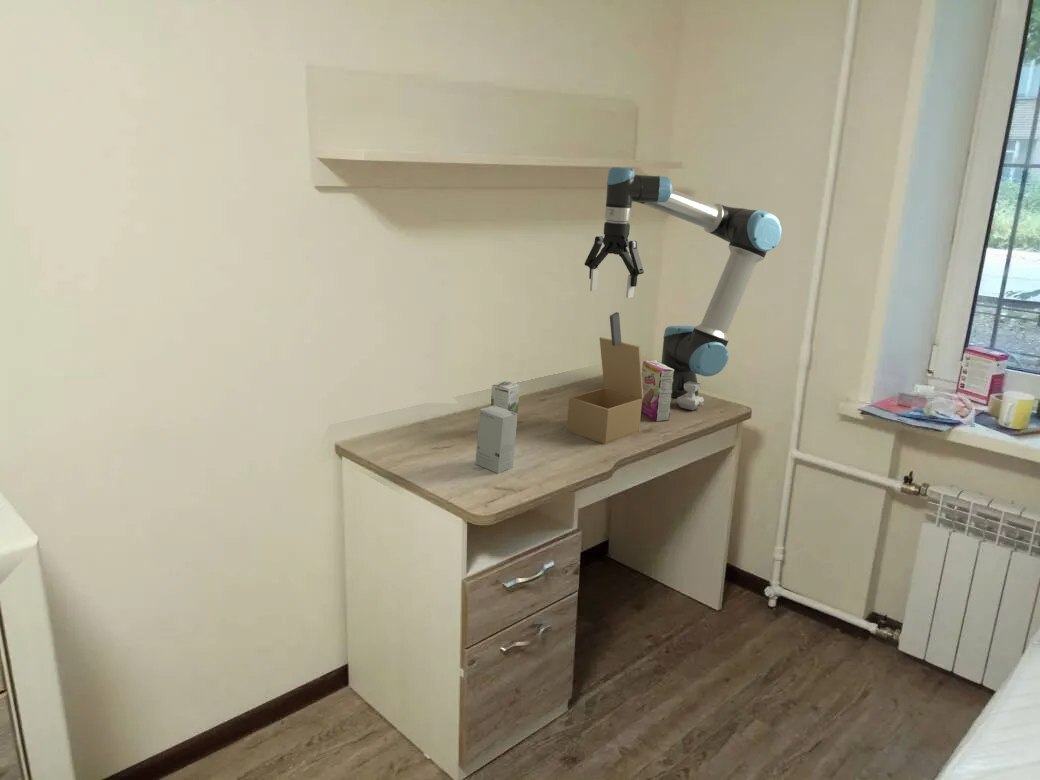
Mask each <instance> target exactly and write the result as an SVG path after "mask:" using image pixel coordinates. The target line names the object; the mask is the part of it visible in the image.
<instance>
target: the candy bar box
mask: <svg viewBox="0 0 1040 780" xmlns="http://www.w3.org/2000/svg"><path fill="white" fill-rule="evenodd" d="M641 370H642V384H643V399H642V407H641V414H644V415H645V416H647V417H648V418H650V419H652V420H653V421H655V422H665V421H666V422H667V421H670V415H671V414H670V413H671V407H672V406H671V405H672V398H673V397H672V387H673V377H674V369H672V368H670V367H668V366H666V365H664V364H662V362H659V361H658V360H656V359H655V360H653V359H652V360H651V359H649V360H643V361H642V366H641ZM640 399H641V398H640Z"/></svg>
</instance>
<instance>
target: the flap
mask: <svg viewBox="0 0 1040 780" xmlns="http://www.w3.org/2000/svg"><path fill="white" fill-rule="evenodd" d="M609 322H610V325H609V327H610V336H611V339H610V338H606V337H602V336H601V337H599V347H600V359H601V368H602V369H601V370H602V377H603V378H602V380H603V388H606V389H609V390H613V391H616V392H620V393H623V394H627V395H630V396H633V397H637V398H641V399H643V384H642V357H641V346H640V345H635V344H631V343H627V342H623V341H622V336H621V335H622V333H621V322H620V312H618V311H617V312H614V313H613V314H611V315H609Z"/></svg>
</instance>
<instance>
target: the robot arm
mask: <svg viewBox="0 0 1040 780" xmlns="http://www.w3.org/2000/svg"><path fill="white" fill-rule="evenodd" d="M635 173H636V172H635V169H634V168H632V167H616V166H615V167H611V168H609V170H608V175H607V181H606V197H605V199H606V201H605V212H604V213H605V214H604V220H605V222H604V225H603V235H604V237H603V236H601V235H599V236H597V235H596V236H595V237H594V242H593V245H592V247H591V249H590V250H589V254H588V255H587V257H586V259H585V262H584V266H586V267H588V268H589V272H588V273H589V277H588V278H589V280H590V285H589V291H591V292H594V291H598V287H599V286H598V285H599V271H600V269H599V266H600V264H601V263H602V262H603V261H604V260H605V258H606V257H607V256H608V255H609V254H613V255H616V256H617V255H618V257H620V258H621V260H622V261H623V264H624V265H625V267H626V269H627V271H628V273H629V274H628V275H627V280H626V291H625V292H626V293H625V294H626V295H625V298H628V299H630V298H634V296H635V287H637V283H638V276H639V275H642V274H644V272H645V270H644V268H643V264H642V263H643V262H642V260H641V257H640V254H639V253H640V252H639V251H638V241H637V240H629V239H628V238H629V236H630V228H631V224H630V221H631V217H632V206H633V205H632V204H633V202H634V203H635V202H636V203H638V204H641V205H644V206H646V207H649V208H651V209H654V210H657V211H659V212H663V213H665V214H668V215H670V216H673V217H675V218H678V219H681V220H684V221H686V222H689V223H691V224H694V225H696V226H699V227H702V228H703V229H704V231H705V232H706V233H708V234H711V235H713V236H715V237H718V238H720V239H721V240H724V241H725V242H727V243H729V244H728V250H729V252H730V253H729V254H730V255H729V257H728V259H727V261H726V264H725V266H724V269H723V271H722V274H721V275H720V278H719V280H718V282H717V284H716V287H715V290H714V292H713V295H712V297H711V299H710V301H709V303H708V306H707V309H706V311H705V313H704V316H703V317H702V320H701V323H700V324H698V325H695V326H693V325H669V326H667V327H666V328H665V329H664V334H663V343H662V354H661V363H662V364H664V365H666V366H668V367H670V368H672V369H674V377H673V387H672V397H671V398H673V399H677V398H678V397H680V396H682V395H684V394H686V393H687V391H686V390H684V384H685V383H687V382H689V381H691V382H696V383H699V382H698V379H697V378H698V377H697V375H698V376H702V377H712V376H714V375H717V374H720V372H722V371H723V370H724V368H725V367H726V365H727V364H728V361H729V353H728V348H727V345H728V344H729V338H728V334H727V333H728V331H729V329H730V326H731V324H732V321H733V320H734V317H735V316H736V315H735V314H736V312H737V310H738V307H739V305H740V304H741V303H740V302H741V300H742V298H743V296H744V294H745V292H746V289H747V286H748V284H749V282H750V279H751V278H752V274H753V273H754V270H755V268H756V265H757V263H759V262H761V261H763V260H764V259H765V257H766V255H767V252H769V251H772V250H773V249H775V248H776V247H777V246H778V244H779V243H780V240H781V238H782V231H783V230H782V225H781V223H780V220H779V219H778V217H777V216H776V215H775V214H773V213H770V212H768V211H764V210H761V209H760V210H755V209H747V208H744V207H743V208H739V207H734V206H733V207H731V206H727V205H723V204H721V203H714V204H712V203H710V202H706V201H704V200H701V199H698V198H696V197H693V196H691V195H689V194H686V193H684V192H680V191H678V190H675V189H673V184H672V181H671V179H670V178H669V177H668V176H661V175H647V174H645V175H644V174H635ZM602 246H603V247H602ZM627 248H628V249H627ZM699 390H700V389H699ZM699 390H698V391H696V392H695V395H696V396H699V392H700V391H699Z"/></svg>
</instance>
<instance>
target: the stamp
mask: <svg viewBox="0 0 1040 780" xmlns="http://www.w3.org/2000/svg"><path fill="white" fill-rule="evenodd" d="M700 388H701V383H700V382H698V383H696V382H691V381H689V382H687V383H685V384H684V390H686V391H687V393H686V394H684V395H682V396H680V397H678V398H676V403H677V404H678V406H679V408H682V409H685V410H688V411H694V410H696V409H698V408H702V407H703V406H704V402H705V399H704V397H703V396H699V395H697V396H696V395H695V392H696V391H698V390H700ZM698 392H699V391H698Z"/></svg>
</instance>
